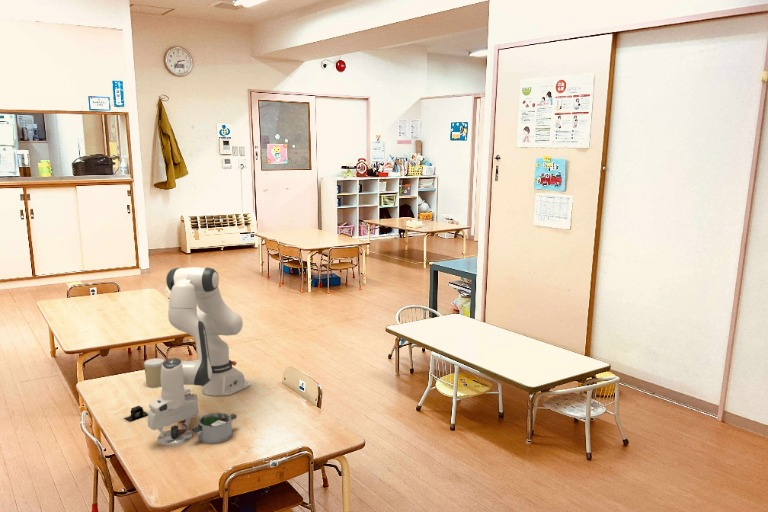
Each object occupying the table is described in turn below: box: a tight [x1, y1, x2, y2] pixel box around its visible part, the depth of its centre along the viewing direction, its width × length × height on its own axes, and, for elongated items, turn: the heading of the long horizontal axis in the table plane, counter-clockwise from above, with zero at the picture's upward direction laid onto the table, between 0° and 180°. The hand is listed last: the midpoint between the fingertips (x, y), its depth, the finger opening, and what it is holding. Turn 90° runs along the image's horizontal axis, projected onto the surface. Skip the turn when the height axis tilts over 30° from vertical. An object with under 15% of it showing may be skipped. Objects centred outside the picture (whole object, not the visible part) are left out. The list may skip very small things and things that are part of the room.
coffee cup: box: [143, 357, 165, 389], centre depth 288 cm, size 9×9×12 cm
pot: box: [191, 412, 238, 445], centre depth 238 cm, size 19×13×7 cm
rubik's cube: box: [210, 420, 226, 426], centre depth 239 cm, size 5×5×5 cm
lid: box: [157, 425, 193, 446], centre depth 236 cm, size 13×13×5 cm
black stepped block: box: [122, 405, 149, 423], centre depth 254 cm, size 12×7×5 cm, turn 142°
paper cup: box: [176, 385, 192, 424], centre depth 251 cm, size 8×8×14 cm
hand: (174, 432), depth 236 cm, fingers open, 8 cm apart
